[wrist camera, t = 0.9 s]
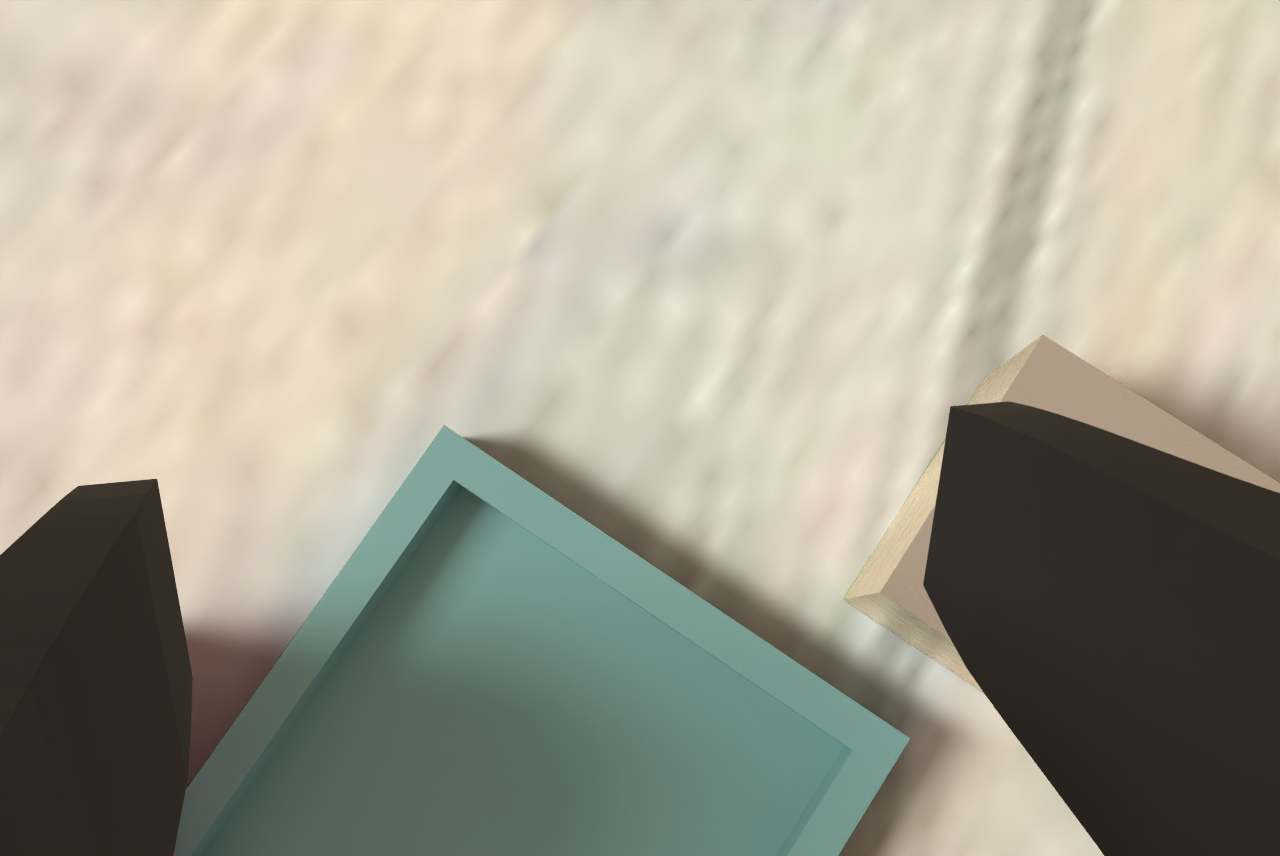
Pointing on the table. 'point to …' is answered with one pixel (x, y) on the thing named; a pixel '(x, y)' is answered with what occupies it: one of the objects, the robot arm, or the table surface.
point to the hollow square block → (1042, 383)
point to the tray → (528, 703)
